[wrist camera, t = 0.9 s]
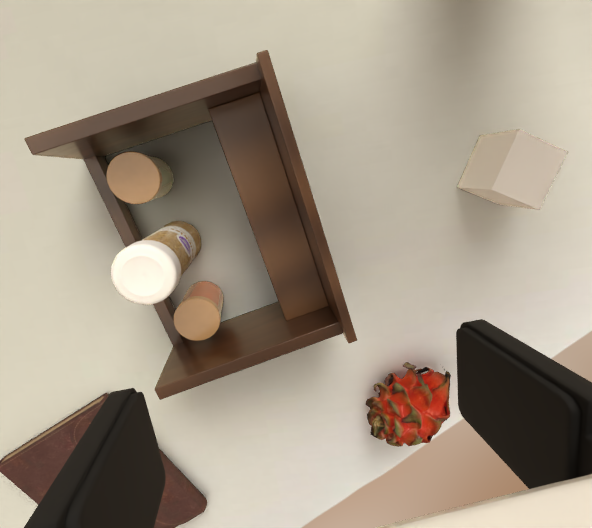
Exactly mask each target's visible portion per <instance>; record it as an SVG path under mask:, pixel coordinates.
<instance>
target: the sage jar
mask: <svg viewBox="0 0 592 528" xmlns="http://www.w3.org/2000/svg"><path fill="white" fill-rule="evenodd" d="M107 182H108V185H109V187H110V189H111V191H112V192H113V193H114V194H115V196H117V197H118V198H119V199H121V200H122V201H124V202H127V203H130V204H143V203H146V202H149V201H151V200H153V199H157V198H160V197H163V196H165V195H166V194H167V193H168V192H169V191H170V190H171V188H172V185H173V173H172V170H171V168H170V167H169V165H168V164H167V163H166V162H165V161H163V160H162V159H160V158H158V157H154V156H149V155H145V154H142V153H139V152H131V151H129V152H123V153H121V154H118V155H117V156H115V157H114V158H113V159H112V160H111V162H110V163H109V165H108V168H107Z"/></svg>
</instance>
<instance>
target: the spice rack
mask: <svg viewBox="0 0 592 528" xmlns="http://www.w3.org/2000/svg"><path fill="white" fill-rule="evenodd" d="M209 121H213V124H214V127H215V130H216V132H217V135H218V138H219V140H220V143H221V146H222V149H223V151H224V154H225V157H226V159H227V162H228V165H229V168H230V170H231V173H232V176H233V178H234V181H235V184H236V187H237V189H238V192H239V195H240V197H241V200H242V203H243V206H244V208H245V211H246V214H247V216H248V219H249V222H250V225H251V227H252V230H253V233H254V235H255V238H256V241H257V244H258V246H259V249H260V252H261V255H262V257H263V260H264V263H265V265H266V268H267V271H268V274H269V276H270V279H271V282H272V284H273V287H274V290H275V293H276V295H277V298H278V301H279V302H277V303H274V304H271V305H268V306H265V307H263V308H260V309H257V310H254V311H251V312H249V313H246V314H243V315H240V316H237V317H235V318H232V319H229V320H226V321H223V322H221V323H220V325H219V328H218V330H217V331H216V333H215V334H214V335H212V336H211V337H209V338H207V339H205V340H200V341H194V340H190V339H187V338H185V337H183V336H182V335H181V334H180V333H179V332H178V331H177V329H176V328H175V325H174V313H175V308H174V306H173V304H172V302H171V300H170V298H169V296H168V297H167V298H166V299H164V300H163V301H160V302H158V303H155V304H153V305H154V307H155V309H156V311H157V313H158V315H159V317H160V319H161V321H162V324H163V326H164V328H165V330H166V332H167V334H168V336H169V338H170V340H171V342H172V344H173V348H172V351H171V353H170V355H169V357H168V360H167V362H166V364H165V366H164V369H163V371H162V373H161V376H160V378H159V380H158V382H157V385H156V387H155V391H156V393H157V395H158V397H159V399H163V398H166V397H169V396H171V395H174V394H177V393H180V392H182V391H185V390H188V389H191V388H193V387H196V386H199V385H202V384H204V383H207V382H210V381H213V380H215V379H218V378H221V377H224V376H226V375H229V374H232V373H235V372H237V371H240V370H243V369H246V368H248V367H251V366H254V365H257V364H259V363H262V362H265V361H268V360H270V359H273V358H276V357H279V356H281V355H284V354H287V353H290V352H292V351H295V350H298V349H301V348H303V347H306V346H309V345H312V344H314V343H317V342H320V341H323V340H325V339H328V338H331V337H334V336H336V335H339V334H342V333H343V335H344V336H345V338H346V340H347V341H348V343H351V342H354V341H357V338H356V335H355V331H354V328H353V325H352V322H351V319H350V315H349V312H348V309H347V306H346V302H345V299H344V296H343V293H342V289H341V286H340V283H339V280H338V276H337V273H336V270H335V267H334V263H333V260H332V257H331V254H330V251H329V247H328V244H327V241H326V238H325V234H324V231H323V228H322V225H321V221H320V218H319V215H318V212H317V208H316V205H315V202H314V199H313V195H312V192H311V189H310V186H309V182H308V179H307V176H306V173H305V170H304V166H303V163H302V160H301V157H300V153H299V150H298V147H297V144H296V140H295V137H294V134H293V131H292V127H291V124H290V121H289V118H288V114H287V111H286V108H285V105H284V102H283V98H282V95H281V92H280V89H279V85H278V82H277V79H276V76H275V72H274V69H273V66H272V63H271V59H270V56H269V53H268V51H267V50H265V51H262V52H259V53H257V58H256V62H255V63H252V64H249V65H246V66H243V67H240V68H237V69H234V70H231V71H228V72H225V73H222V74H219V75H216V76H213V77H209V78H206V79H203V80H200V81H197V82H194V83H191V84H188V85H185V86H182V87H179V88H176V89H173V90H170V91H167V92H164V93H161V94H158V95H155V96H152V97H149V98H146V99H143V100H139V101H136V102H133V103H130V104H127V105H124V106H121V107H118V108H115V109H112V110H109V111H106V112H103V113H100V114H97V115H94V116H91V117H88V118H85V119H82V120H79V121H76V122H72V123H69V124H66V125H63V126H60V127H57V128H54V129H51V130H48V131H45V132H42V133H39V134H36V135H33V136H30V137H27V138H25V141H26V143H27V145H28V147H29V149H30V151H31V153H32V154H33V155H40V156H52V157H63V158H75V159H84V161H85V164H86V166H87V168H88V170H89V172H90V174H91V176H92V178H93V180H94V182H95V184H96V186H97V189H98V191H99V193H100V195H101V197H102V199H103V201H104V203H105V205H106V207H107V209H108V211H109V213H110V216H111V218H112V220H113V222H114V224H115V226H116V228H117V230H118V232H119V234H120V236H121V238H122V240H123V243H124V245H125V247H128V246H129V245H131V244H133V243H135V242H137V241H142V237H141V235H140V233H139V231H138V229H137V227H136V224H135V222H134V220H133V218H132V216H131V214H130V211H129V209H128V207H127V205H126V203H125V202H124V201H122V200H121V199H119V198H118V197H117V196H115V194H114V193H113V192H112V191H111V189H110V187H109V185H108V182H107V168H108V164H107V162H106V160H105V158H104V156H107V155H110V154H113V153H116V152H119V151H122V150H125V149H128V148H131V147H134V146H137V145H140V144H143V143H146V142H149V141H152V140H155V139H158V138H161V137H164V136H167V135H170V134H173V133H176V132H179V131H182V130H185V129H188V128H191V127H194V126H197V125H200V124H203V123H206V122H209Z"/></svg>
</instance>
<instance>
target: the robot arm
mask: <svg viewBox="0 0 592 528" xmlns="http://www.w3.org/2000/svg"><path fill="white" fill-rule="evenodd" d="M456 340H457V377H458V406H459V410H460V412H461V414H462V416H463V417H464V419H465V420H466V421H467V422H468V423H469V424H470V425H471V426H472V427H473V428H474V429H475V431H476V432H477V433H478V434H479V435H480V436H481V437H482V438H483V439H484V440H485V441H486V443H487V444H488V445H489V446H490V447H491V448H492V449H493V450H494V451H495V452H496V453H497V454H498V455H499V457H500V458H501V459H502V460H503V461H504V462H505V463H506V464H507V465H508V466H509V467H510V468H511V470H512V471H513V472H514V473H515V474H516V475H517V476H518V477H519V478H520V479H521V480H522V481H523V483H524V484H525V485H526V486H527V487H528V488H529V489H528V490H524V491H520V492H516V493H512V494H507V495H503V496H499V497H496V498H491V499H487V500H483V501H479V502H475V503H471V504H467V505H463V506H459V507H455V508H451V509H447V510H443V511H439V512H435V513H431V514H427V515H423V516H419V517H415V518H411V519H407V520H404V521H400V522H395V523H392V524H388V525H384V526H380V527H376V528H592V383H591V382H590V381H588V380H586V379H585V378H583V377H581V376H579V375H577V374H576V373H574V372H572V371H571V370H569V369H567V368H566V367H564V366H562V365H560V364H559V363H557V362H555V361H554V360H552V359H550V358H548V357H547V356H545V355H543V354H542V353H540V352H538V351H536V350H535V349H533V348H531V347H530V346H528V345H526V344H524V343H523V342H521V341H519V340H518V339H516V338H514V337H512V336H511V335H509V334H507V333H505V332H504V331H502V330H500V329H499V328H497V327H495V326H493V325H492V324H490V323H488V322H487V321H485V320H482V319H481V320H475V321H470V322H465V323H463V324H462V325H461V327H460V329H458V330H457V333H456ZM165 481H166V475H165V469H164V465H163V462H162V458H161V455H160V451H159V447H158V444H157V440H156V437H155V433H154V430H153V426H152V423H151V419H150V416H149V412H148V408H147V405H146V401H145V398H144V395H143V393H142V392H138V393H137V392H136V390H135V389H134V388H131V389H126V390H121V391H115V392H111V393H110V394H109V395H108V397H107V399H106V400H105V402H104V403H103V405H102V406H101V408H100V409H99V411H98V413H97V414H96V416H95V417H94V419H93V420H92V422H91V424H90V425H89V427H88V428H87V430H86V431H85V433H84V435H83V436H82V438H81V439H80V441H79V442H78V444H77V445H76V447H75V449H74V450H73V452H72V453H71V455H70V456H69V458H68V460H67V461H66V463H65V464H64V466H63V467H62V469H61V471H60V472H59V474H58V475H57V477H56V478H55V480H54V481H53V483H52V485H51V486H50V488H49V489H48V491H47V492H46V494H45V496H44V497H43V499H42V500H41V502H40V503H39V505H38V507H37V508H36V510H35V511H34V513H33V514H32V516H31V517H30V519H29V521H28V522H27V524H26V525H25V527H24V528H154V525H155V521H156V518H157V514H158V510H159V506H160V502H161V499H162V495H163V491H164V487H165Z"/></svg>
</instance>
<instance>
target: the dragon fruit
mask: <svg viewBox="0 0 592 528" xmlns="http://www.w3.org/2000/svg"><path fill="white" fill-rule="evenodd" d="M403 367H406V368H408V371H407V373H406V375H405V377H404V378H402V379H401V378H399V377H397V375H396V374H395V373H390V374H388V377H387V378H386V379H385V384H384V383H377V384H375V385H374V386H373V387H374V390H375V391H376V386H378V387H379V390H380V392H379V393H378V394H379V397H378V398H377V397H371V398H370V399H368V400H367V401H366V405H367V406H369V407H370V409H371V410H370V411H369V412H368V414H367V419H368V422H369V424H370V425H371V426H372V427H371V432H370V433H371V434H370V435H373V436H374V437H376V438H378V439H380V440H382V439H385V438H386V442H387V443H388V444H390V445H393V446H403V443H406V444H407V445H408V446H412V445H417V444H420V443H429V442H430V441H431V438H432V436H433V435H435V434H436V433H437V432H438V431H439V429H440V427H441V424H442V423H443V422H444V421H445V420H447V419H448V418H449V417H450V409H449V387H450V376H451V375H450V373H449V372H447V371H446V373H445V375H443V374H441V373H439V372H434V370H432V369H430V368H427V367H425V368H423V369H418V370H415V368H416V366H414V365H410V363H408V362H406V363H405V364H404V365H403ZM442 368H443V366H442ZM416 371H418V372H417V373H416ZM425 371H428V372H427V373H425V374H422V375H421V373H422V372H425ZM444 371H445V369H444ZM418 373H419V374H418ZM416 374H418V375H417V376H416ZM391 377H392V383H391V384H390V385H389V380H390V378H391ZM388 385H389V386H388Z"/></svg>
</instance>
